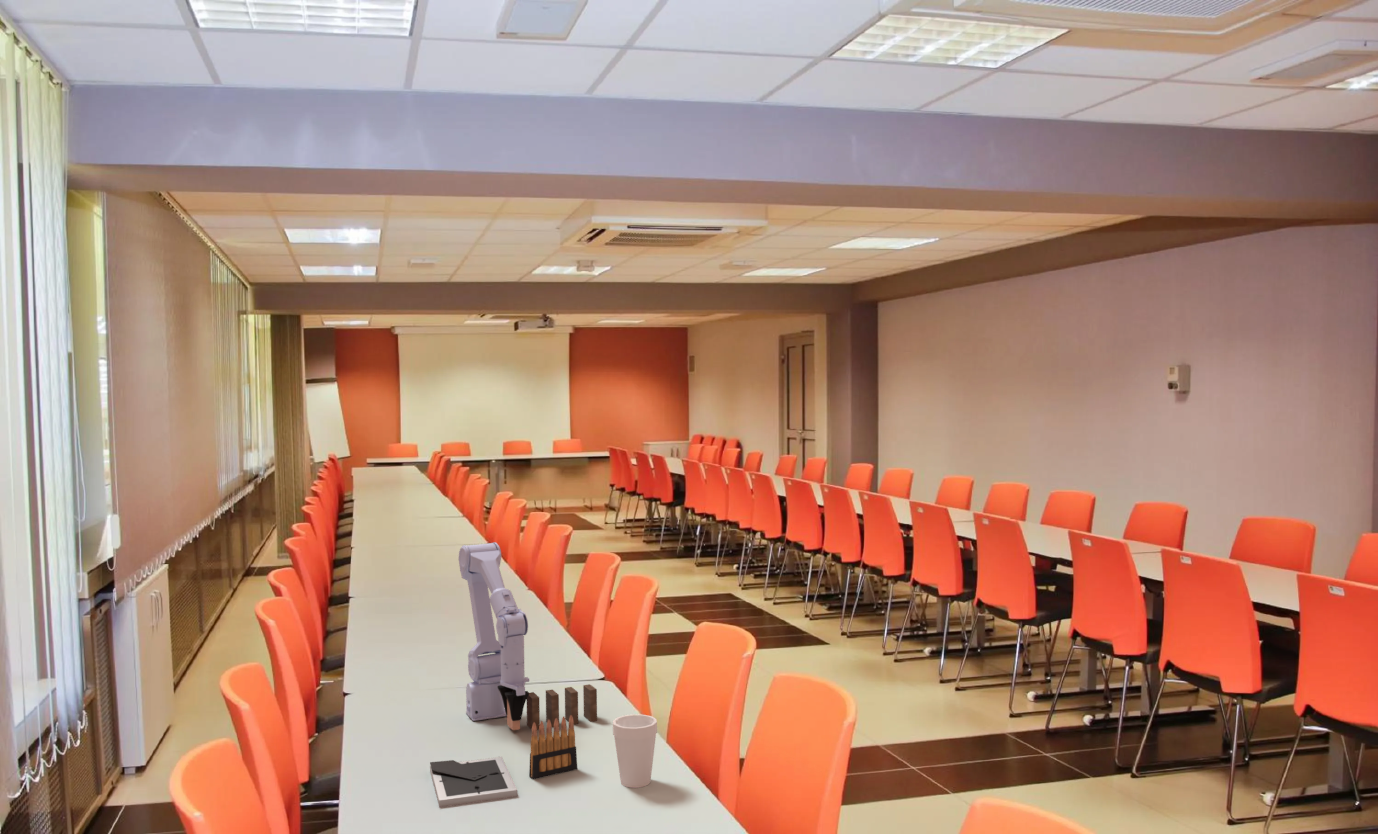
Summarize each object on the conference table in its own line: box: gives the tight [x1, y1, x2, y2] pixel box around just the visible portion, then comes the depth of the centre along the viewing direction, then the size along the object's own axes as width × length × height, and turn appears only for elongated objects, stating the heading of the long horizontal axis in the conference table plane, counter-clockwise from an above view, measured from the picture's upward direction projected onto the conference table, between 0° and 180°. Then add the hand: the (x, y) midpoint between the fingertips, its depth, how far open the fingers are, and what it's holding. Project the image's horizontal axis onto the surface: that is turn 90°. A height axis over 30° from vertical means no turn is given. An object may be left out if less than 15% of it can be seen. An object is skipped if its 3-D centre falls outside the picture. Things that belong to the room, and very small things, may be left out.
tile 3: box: [545, 689, 560, 729], centre depth 258 cm, size 2×5×8 cm, turn 25°
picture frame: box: [429, 756, 519, 808], centre depth 219 cm, size 16×3×21 cm
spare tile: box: [506, 700, 521, 731], centre depth 253 cm, size 2×5×8 cm, turn 25°
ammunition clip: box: [528, 715, 578, 780], centre depth 224 cm, size 11×2×12 cm, turn 123°
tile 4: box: [564, 686, 579, 725], centre depth 260 cm, size 2×5×8 cm, turn 25°
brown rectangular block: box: [526, 691, 541, 731], centre depth 255 cm, size 2×5×8 cm, turn 25°
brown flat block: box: [582, 684, 598, 723], centre depth 262 cm, size 2×5×8 cm, turn 25°
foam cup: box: [612, 713, 658, 789], centre depth 219 cm, size 10×9×13 cm
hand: (513, 717), depth 253 cm, fingers closed on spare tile, 5 cm apart
